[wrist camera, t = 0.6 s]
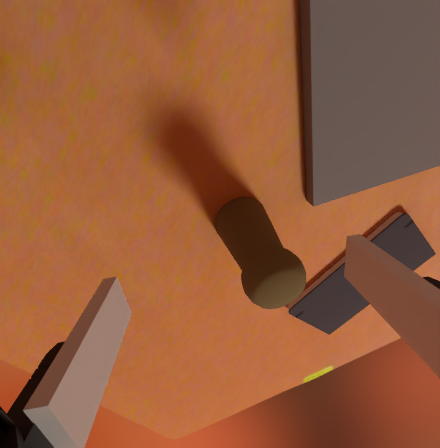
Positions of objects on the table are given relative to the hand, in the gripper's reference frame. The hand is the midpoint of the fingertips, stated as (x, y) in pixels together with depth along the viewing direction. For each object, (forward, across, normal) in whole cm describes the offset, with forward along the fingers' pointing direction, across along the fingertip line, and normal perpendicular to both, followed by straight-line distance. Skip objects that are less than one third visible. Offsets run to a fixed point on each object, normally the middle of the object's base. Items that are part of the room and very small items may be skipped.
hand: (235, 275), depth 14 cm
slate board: (+14, +18, +8) cm, 24 cm away
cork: (+14, +2, -3) cm, 14 cm away
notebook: (+19, +20, -17) cm, 32 cm away
